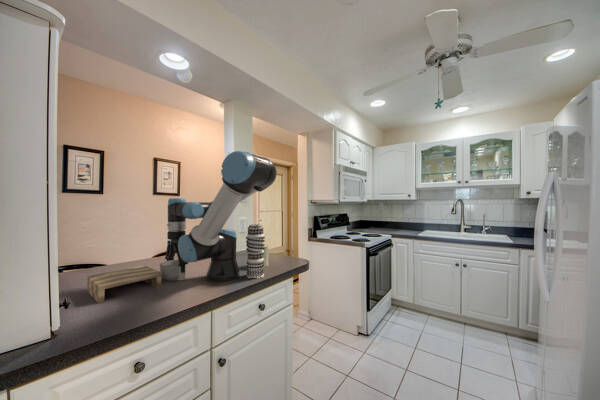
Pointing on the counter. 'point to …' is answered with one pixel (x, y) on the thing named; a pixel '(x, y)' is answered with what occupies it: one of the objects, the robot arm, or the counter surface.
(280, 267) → the counter surface
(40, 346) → the counter surface
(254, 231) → the decorative candle
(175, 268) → the teacup
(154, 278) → the wooden riser stand
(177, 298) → the counter surface
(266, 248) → the can
